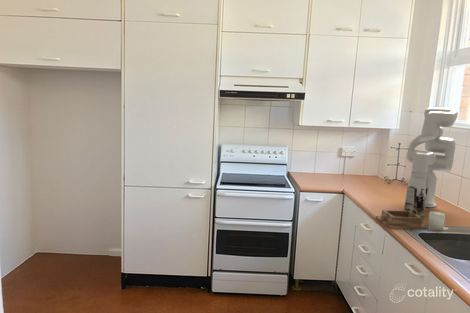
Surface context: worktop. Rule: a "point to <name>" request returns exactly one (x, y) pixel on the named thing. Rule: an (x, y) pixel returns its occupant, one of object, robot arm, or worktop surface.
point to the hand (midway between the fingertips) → (415, 205)
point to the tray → (401, 220)
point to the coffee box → (414, 202)
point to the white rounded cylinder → (436, 220)
